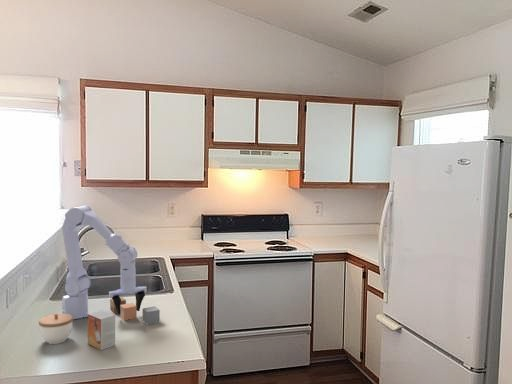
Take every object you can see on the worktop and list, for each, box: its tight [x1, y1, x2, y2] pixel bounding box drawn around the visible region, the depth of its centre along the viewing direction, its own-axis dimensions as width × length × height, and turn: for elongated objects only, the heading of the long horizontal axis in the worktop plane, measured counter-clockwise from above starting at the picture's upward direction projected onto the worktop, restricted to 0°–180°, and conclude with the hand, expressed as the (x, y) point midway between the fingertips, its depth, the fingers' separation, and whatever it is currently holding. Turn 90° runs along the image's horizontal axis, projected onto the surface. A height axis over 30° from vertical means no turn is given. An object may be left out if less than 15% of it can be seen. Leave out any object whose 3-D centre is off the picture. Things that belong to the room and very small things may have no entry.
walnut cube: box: [109, 296, 127, 314], centre depth 181 cm, size 5×5×5 cm
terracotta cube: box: [119, 302, 138, 321], centre depth 173 cm, size 5×5×5 cm
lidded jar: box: [38, 313, 74, 345], centre depth 150 cm, size 11×11×9 cm
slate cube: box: [142, 306, 161, 325], centre depth 169 cm, size 5×5×5 cm
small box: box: [87, 309, 116, 351], centre depth 147 cm, size 8×6×10 cm
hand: (128, 312), depth 173 cm, fingers open, 7 cm apart
